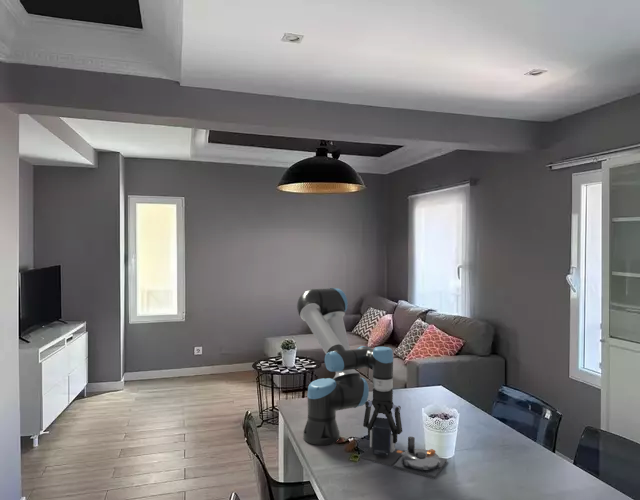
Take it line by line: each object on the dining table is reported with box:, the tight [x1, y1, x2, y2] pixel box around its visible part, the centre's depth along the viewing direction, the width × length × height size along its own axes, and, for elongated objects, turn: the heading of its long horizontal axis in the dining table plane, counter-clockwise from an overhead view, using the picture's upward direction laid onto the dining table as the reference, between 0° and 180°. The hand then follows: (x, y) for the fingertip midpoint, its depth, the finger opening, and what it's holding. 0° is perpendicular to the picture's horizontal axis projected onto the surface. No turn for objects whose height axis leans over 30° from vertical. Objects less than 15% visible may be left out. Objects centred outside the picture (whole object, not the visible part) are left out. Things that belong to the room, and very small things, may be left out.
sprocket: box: [400, 436, 441, 470], centre depth 168 cm, size 14×13×7 cm
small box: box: [372, 416, 392, 456], centre depth 175 cm, size 11×6×10 cm, turn 167°
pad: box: [359, 446, 406, 467], centre depth 175 cm, size 13×13×1 cm
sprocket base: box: [393, 456, 448, 480], centre depth 168 cm, size 15×15×1 cm
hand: (382, 448), depth 175 cm, fingers open, 8 cm apart
